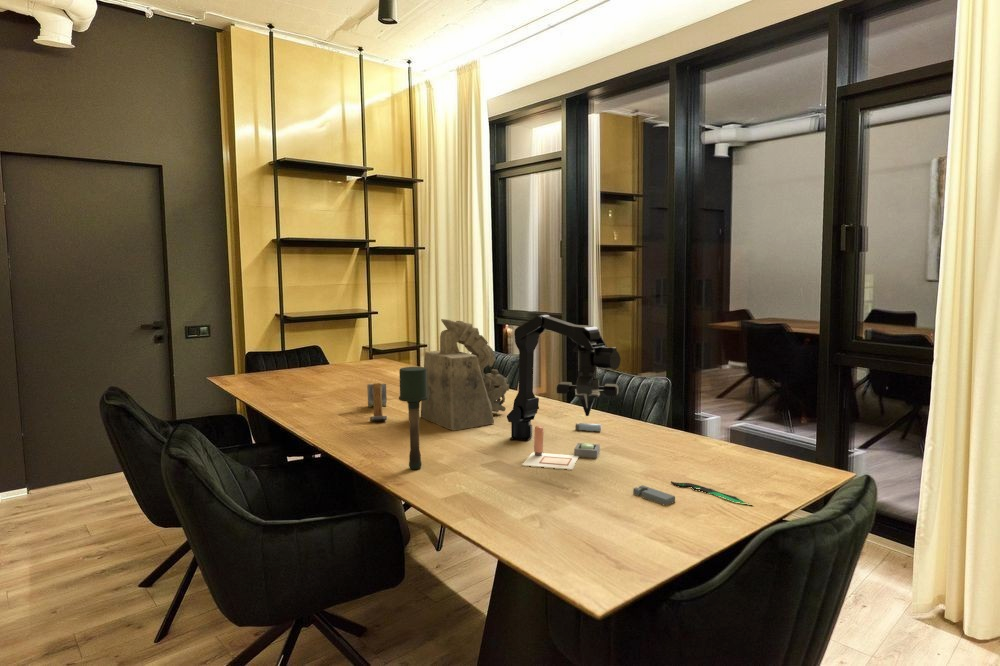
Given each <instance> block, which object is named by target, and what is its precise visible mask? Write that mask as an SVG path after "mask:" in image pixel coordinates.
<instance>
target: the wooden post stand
mask: <svg viewBox="0 0 1000 666" xmlns="http://www.w3.org/2000/svg"><path fill="white" fill-rule="evenodd" d="M366 386H367V387H366V388H367V390H366V391H367V408H373V416H370V417H369V421H371V422H373V421H372V420H379V421H386V420H387V421H388V416H387V415H383V407H387V402H388V401H387V384H386V383H379V382H377V383H371V384H366Z"/></svg>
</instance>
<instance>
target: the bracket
mask: <svg viewBox="0 0 1000 666" xmlns="http://www.w3.org/2000/svg"><path fill="white" fill-rule="evenodd" d="M632 489H633V490H632V493H633V494H632V495H634V494H635V495H634V496H637V495H638V497H640V495H641V497H642V498H643V497H644V498H643V499H646V500H648V499H649V501H651V500H652V502H654V501H655V503H657V502H658V503H657V504H660V503H661V504H660V505H662V504H664V505H663V506H668V504H669V505H671V504H670V503H672V502H674V503H675V502H676V496H675V495H674V494H673V495H672V494H669V493H667V492H663V491H660V490H658V489H655V488H652V487H648V486H646V485H640V486H637V487H633V488H632ZM672 504H673V503H672Z"/></svg>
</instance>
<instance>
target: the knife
mask: <svg viewBox="0 0 1000 666" xmlns="http://www.w3.org/2000/svg"><path fill="white" fill-rule="evenodd" d="M670 483H671V485H672V486H674V485H676V486H675V487H677V486H679V487H678V488H681V487H692V488H693V489H694V490H700V491H699V492H701V491H703V492H706V493H705V494H707V493H710V494H709V495H712V494H714V495H713V496H715V495H717V496H721V497H724V498H726V499H729V500H731V501H734V502H740V503H748V504H750V503H749V502H745V501H743V500H742V499H741V498H738V497H737V496H735V495H731V494H730V495H729V494H726V493H723V492H720V491H717V490H715V489H713V488H708V487H706V486H701V485H698V484H695V483H689V482H674V481H672V480H671V481H670ZM692 488H691V489H692ZM696 488H700V489H696ZM693 489H692V490H693ZM694 490H693V491H694ZM703 492H702V493H703ZM717 496H716V497H717Z"/></svg>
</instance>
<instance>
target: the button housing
mask: <svg viewBox="0 0 1000 666" xmlns="http://www.w3.org/2000/svg"><path fill="white" fill-rule="evenodd" d="M581 444H585V443H584V442H583V443H582V442H581V443H580V442H578V443H577V444H576V446H575V447H574V453H573V454H574V456H579V458H584V457H588V459H596V458H597V459H598V457H599V455H600V453H601V444H599V443H598V444H597V443H596V444H595V443H592V444H593V445H594V449H581ZM599 452H600V453H599ZM598 454H599V455H598Z"/></svg>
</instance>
